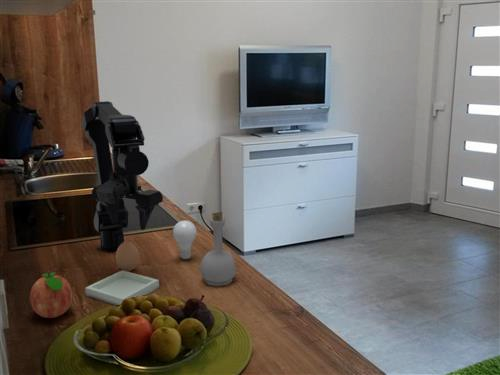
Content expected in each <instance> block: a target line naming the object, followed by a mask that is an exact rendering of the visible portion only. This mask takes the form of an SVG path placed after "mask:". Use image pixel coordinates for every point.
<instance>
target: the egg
mask: <svg viewBox="0 0 500 375" xmlns="http://www.w3.org/2000/svg"><path fill="white" fill-rule="evenodd" d="M115 262H116V265H117V267H118V268H119V269H120V271H122V270H123V271H127V272H131V271H133V270H135V269H136V268H137V266H138V265H139V262H140V253H139V250H138V248H137V246H136V245H135V244H134V243H133V242H130V241H124V243H122V244H121V245H120V246H119V247H118V249H117V251H116V252H115Z"/></svg>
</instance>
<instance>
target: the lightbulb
mask: <svg viewBox="0 0 500 375" xmlns="http://www.w3.org/2000/svg"><path fill="white" fill-rule="evenodd" d="M172 229H173V230H172V235H173V238H174V240H175V241H176V242H177V244H178V247H179V250H180V258H181V259H183V260H185V261H187V260H189V259H190V258H191V257H192V256H191V248H192V245H193V244H192V243H193V242H194V240H195V238H196V237H197V228H196V226H195V224H194V223H193V222H191V221H190V220H181V221H178V222H177V223H176V224H174V227H173V228H172Z"/></svg>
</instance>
